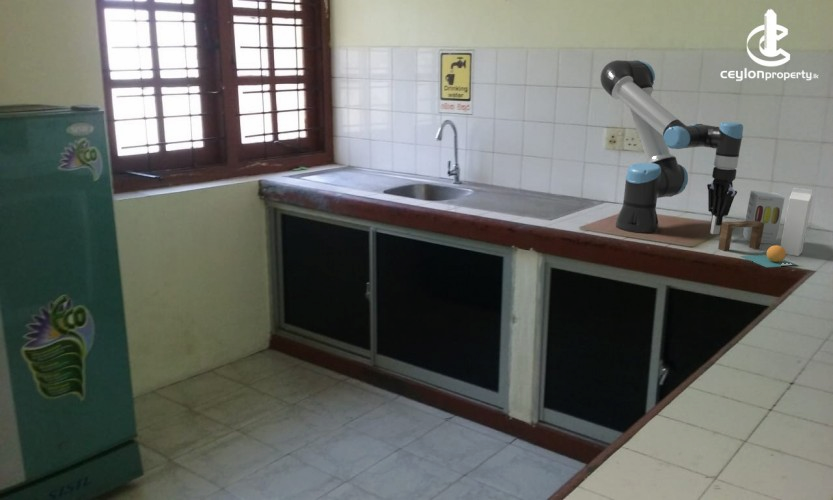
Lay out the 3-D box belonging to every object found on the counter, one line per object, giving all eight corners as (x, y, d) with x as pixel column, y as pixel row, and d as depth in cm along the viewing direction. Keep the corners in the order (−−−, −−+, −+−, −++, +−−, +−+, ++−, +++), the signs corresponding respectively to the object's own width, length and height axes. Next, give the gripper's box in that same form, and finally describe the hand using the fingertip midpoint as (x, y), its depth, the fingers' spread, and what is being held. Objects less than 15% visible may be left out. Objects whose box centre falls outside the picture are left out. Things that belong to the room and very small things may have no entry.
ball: (777, 251, 234) (765, 243, 239) (772, 266, 237) (760, 257, 242) (791, 249, 236) (779, 241, 241) (786, 264, 239) (774, 256, 243)
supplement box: (748, 242, 263) (756, 195, 258) (741, 235, 271) (749, 190, 267) (776, 244, 261) (785, 197, 256) (769, 237, 270) (777, 192, 265)
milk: (782, 249, 255) (794, 185, 249) (802, 252, 252) (814, 188, 246) (778, 252, 251) (790, 188, 245) (798, 256, 247) (811, 191, 241)
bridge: (724, 251, 250) (728, 224, 247) (718, 248, 253) (722, 222, 250) (759, 249, 254) (764, 222, 251) (753, 246, 257) (758, 220, 254)
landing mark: (766, 267, 233) (767, 267, 233) (740, 256, 244) (740, 255, 244) (797, 265, 237) (798, 265, 237) (770, 254, 248) (770, 254, 248)
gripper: (747, 171, 253) (736, 237, 260) (721, 164, 265) (711, 228, 272) (728, 171, 251) (717, 238, 258) (703, 164, 263) (694, 229, 270)
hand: (714, 233), depth 265 cm, fingers closed
